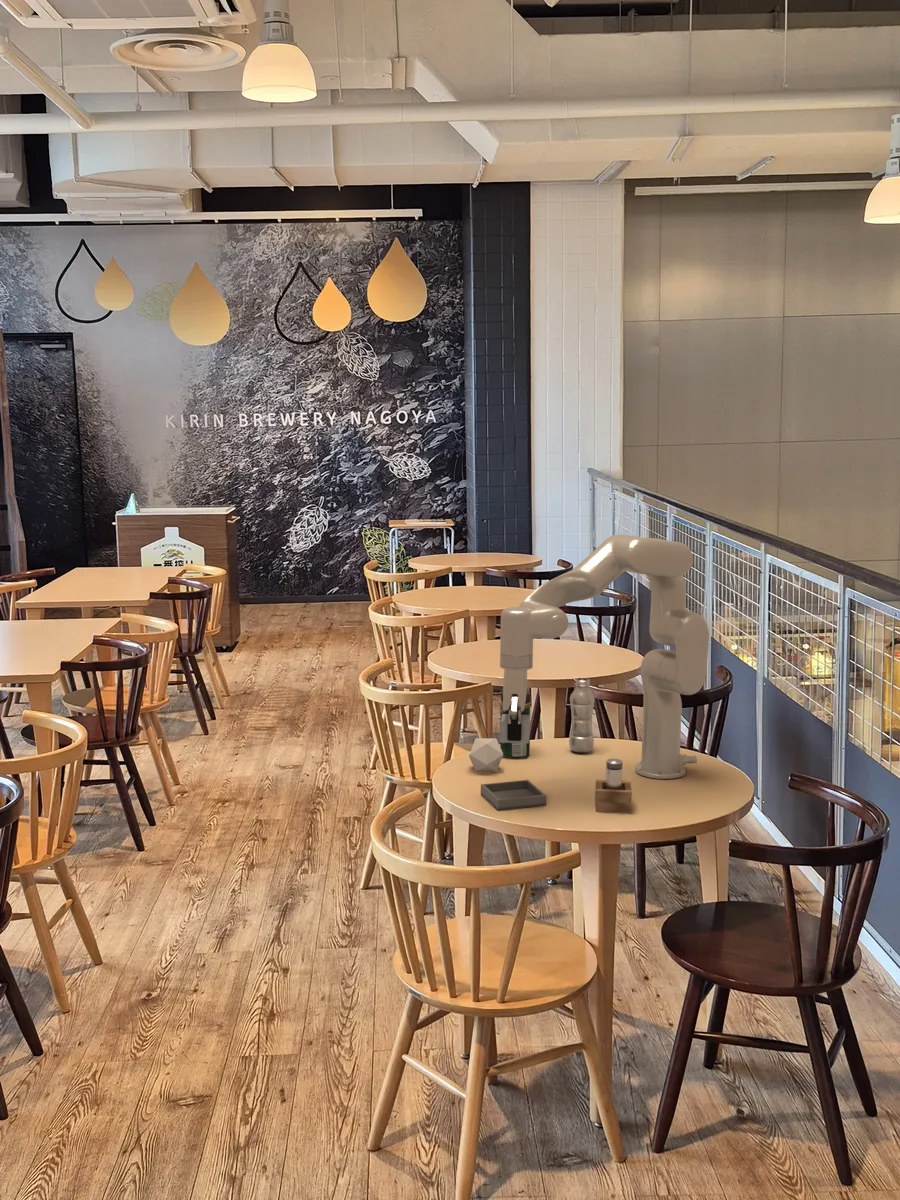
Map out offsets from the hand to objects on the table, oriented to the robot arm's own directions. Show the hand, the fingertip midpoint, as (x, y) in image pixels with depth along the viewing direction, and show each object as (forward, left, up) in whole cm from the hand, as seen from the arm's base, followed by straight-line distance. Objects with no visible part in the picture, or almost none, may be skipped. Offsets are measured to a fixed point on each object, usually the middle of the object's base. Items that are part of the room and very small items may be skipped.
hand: (515, 735), depth 270 cm
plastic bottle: (-31, -32, -16) cm, 47 cm away
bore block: (-20, +11, -16) cm, 28 cm away
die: (-1, -24, -16) cm, 28 cm away
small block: (0, 0, -1) cm, 1 cm away
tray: (0, 0, -16) cm, 16 cm away
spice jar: (-20, +11, -16) cm, 28 cm away
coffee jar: (-13, -35, -16) cm, 40 cm away
